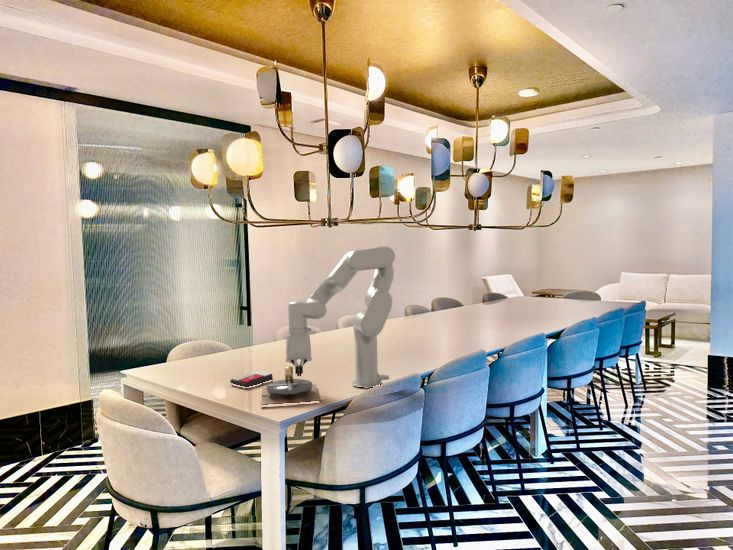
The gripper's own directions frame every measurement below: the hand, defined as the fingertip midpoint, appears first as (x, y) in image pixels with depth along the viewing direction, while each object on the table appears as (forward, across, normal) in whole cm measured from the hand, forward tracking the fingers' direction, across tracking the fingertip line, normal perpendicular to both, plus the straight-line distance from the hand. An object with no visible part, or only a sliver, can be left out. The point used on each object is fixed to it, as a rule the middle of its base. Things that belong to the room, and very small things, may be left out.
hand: (299, 375), depth 209 cm
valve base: (+7, +4, +7) cm, 11 cm away
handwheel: (+5, +4, +7) cm, 10 cm away
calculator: (+8, +20, -18) cm, 28 cm away
